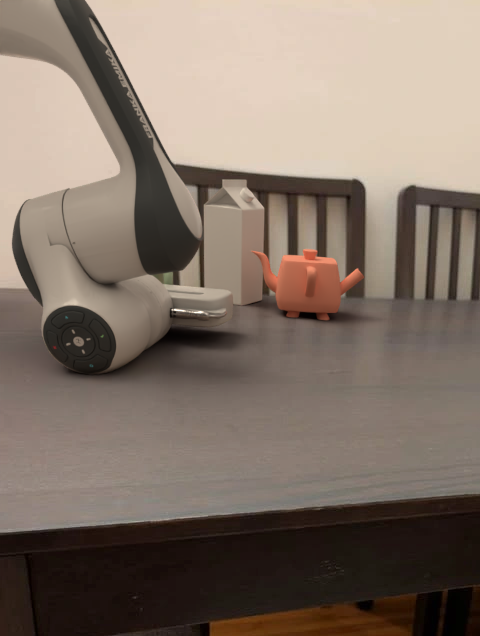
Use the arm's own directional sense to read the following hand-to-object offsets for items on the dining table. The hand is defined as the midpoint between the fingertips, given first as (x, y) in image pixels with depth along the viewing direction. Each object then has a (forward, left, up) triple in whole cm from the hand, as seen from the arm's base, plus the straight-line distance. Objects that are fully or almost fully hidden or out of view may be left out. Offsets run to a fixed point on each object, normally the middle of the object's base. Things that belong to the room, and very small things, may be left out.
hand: (166, 290), depth 97 cm
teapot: (+17, +20, -6) cm, 26 cm away
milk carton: (+4, +26, -6) cm, 26 cm away
